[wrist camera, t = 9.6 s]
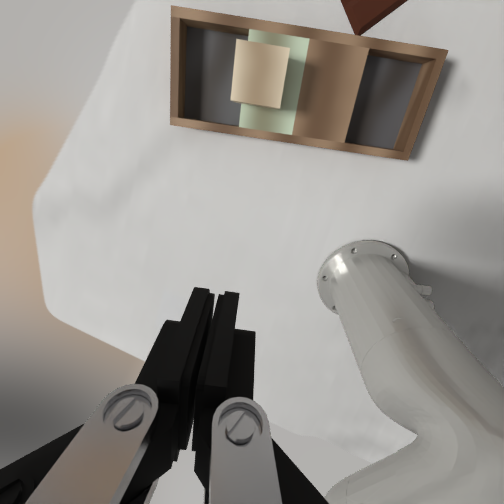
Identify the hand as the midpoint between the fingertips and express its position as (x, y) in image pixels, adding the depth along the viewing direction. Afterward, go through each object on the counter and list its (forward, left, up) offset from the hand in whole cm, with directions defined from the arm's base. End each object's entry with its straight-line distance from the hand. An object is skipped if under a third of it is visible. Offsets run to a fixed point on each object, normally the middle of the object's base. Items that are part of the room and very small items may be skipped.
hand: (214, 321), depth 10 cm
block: (0, -10, -24) cm, 26 cm away
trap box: (-4, -10, -27) cm, 29 cm away
